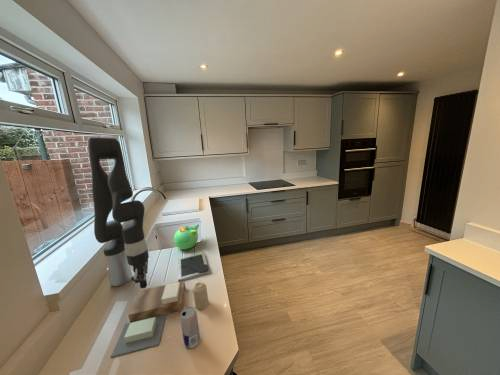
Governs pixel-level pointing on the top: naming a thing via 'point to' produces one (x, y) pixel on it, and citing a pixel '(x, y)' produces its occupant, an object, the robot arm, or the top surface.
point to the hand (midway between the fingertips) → (144, 287)
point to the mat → (142, 343)
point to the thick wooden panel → (155, 303)
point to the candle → (200, 296)
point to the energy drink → (190, 327)
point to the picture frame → (192, 267)
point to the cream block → (171, 293)
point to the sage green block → (140, 330)
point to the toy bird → (186, 237)
